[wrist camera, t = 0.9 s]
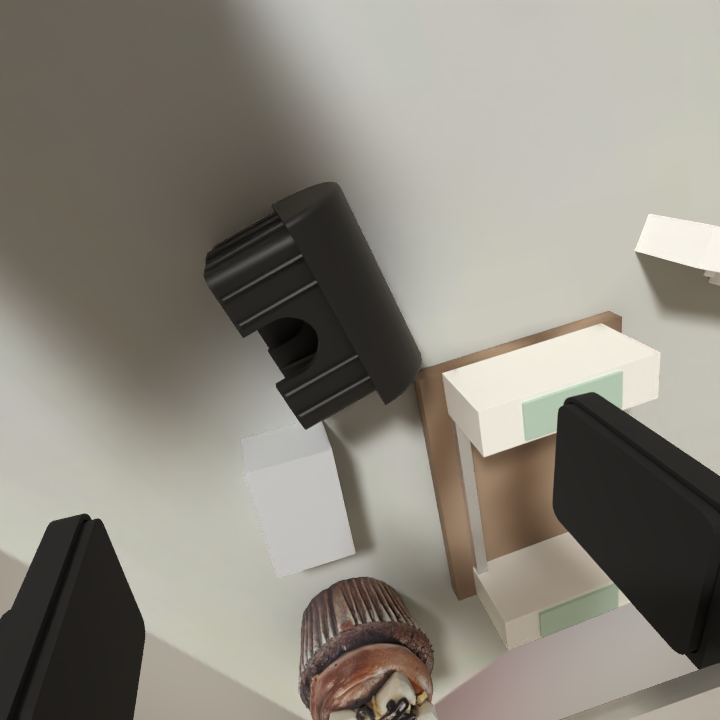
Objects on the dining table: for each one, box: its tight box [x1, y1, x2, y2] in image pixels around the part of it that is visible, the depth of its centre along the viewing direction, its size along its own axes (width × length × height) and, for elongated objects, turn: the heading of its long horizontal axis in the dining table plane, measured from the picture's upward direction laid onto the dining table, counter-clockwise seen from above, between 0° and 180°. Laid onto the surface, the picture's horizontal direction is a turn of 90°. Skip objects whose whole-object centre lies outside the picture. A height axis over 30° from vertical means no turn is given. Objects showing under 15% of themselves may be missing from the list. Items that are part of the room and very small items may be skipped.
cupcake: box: [298, 577, 438, 720], centre depth 35 cm, size 10×10×10 cm
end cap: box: [204, 182, 422, 430], centre depth 26 cm, size 10×7×7 cm
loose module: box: [241, 421, 356, 579], centre depth 32 cm, size 5×8×4 cm, turn 10°
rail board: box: [414, 311, 622, 601], centre depth 37 cm, size 14×20×1 cm
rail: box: [450, 417, 488, 575], centre depth 36 cm, size 11×20×1 cm, turn 13°
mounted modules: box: [442, 323, 660, 651], centre depth 34 cm, size 11×20×5 cm, turn 13°
